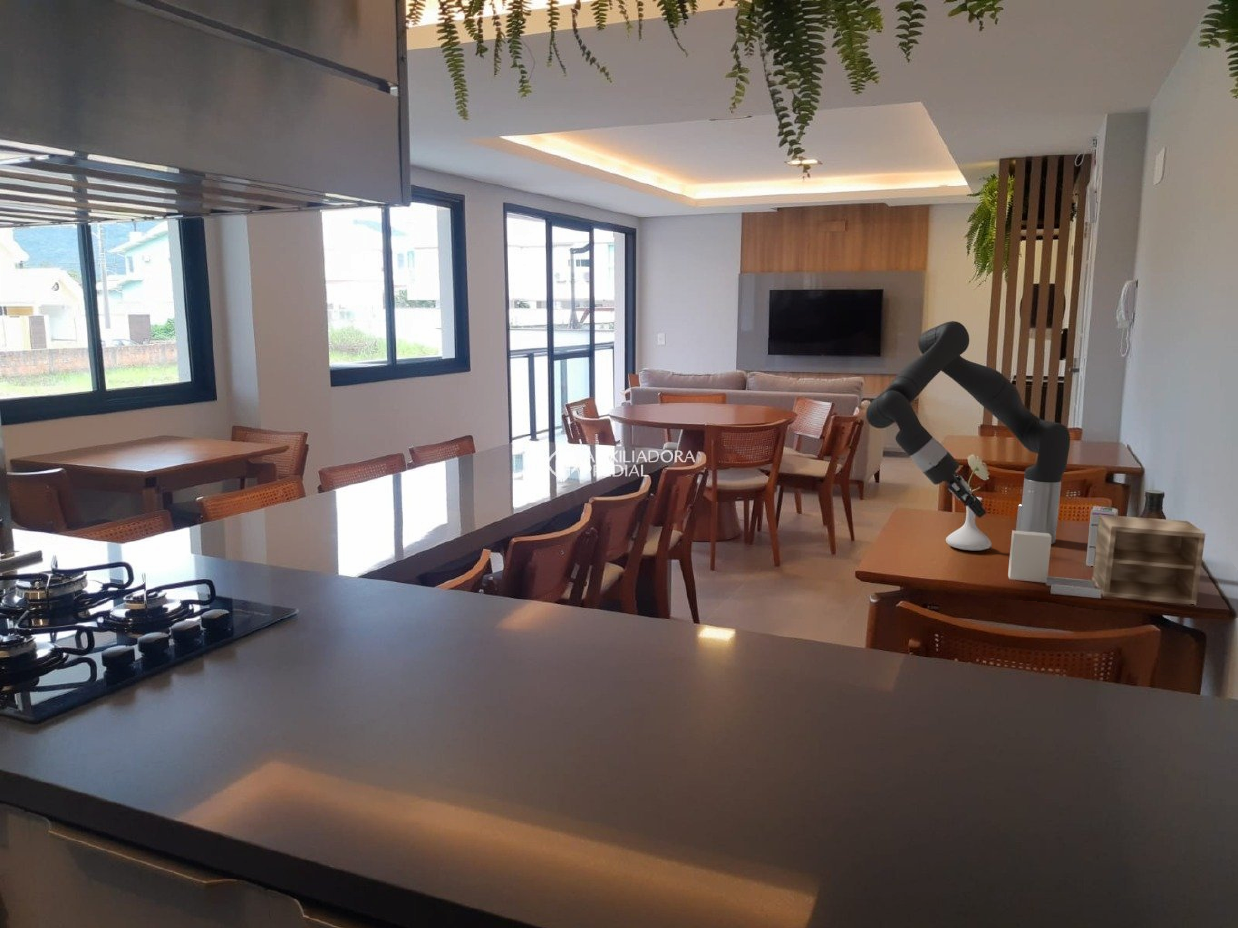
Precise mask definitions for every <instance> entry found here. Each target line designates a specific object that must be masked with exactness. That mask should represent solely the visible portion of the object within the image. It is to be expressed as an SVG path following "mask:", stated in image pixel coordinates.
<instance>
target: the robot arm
mask: <svg viewBox="0 0 1238 928" xmlns="http://www.w3.org/2000/svg"><path fill="white" fill-rule="evenodd" d="M917 342H918V348H919V351H920V353H921V355H920V356H918V357H917V358H915V359H914V360H912V362H910V363H908V365H906V366H905V367H904V368H903V369H902V370H901V371H900V372H899V373H898V374H897V375H896V376H895V377H894V379H893V380H892V381H891V383H890V384H889V385H888V386H887V387H886V388H885V389H884V390H883V391H882V392H881V393H880V394H878V395H877V396H876V397H875V398H874V399H873V400H872V401H871V402H870V404H868V406H867V409H866V412H865V417H866V421H867V422H868V424H869V425H870V426H871V427H873V428H876V429H886V428H888V427H890V426H891V425H893V424H894V423H896V426H897V427H898V429H899V431H898V432H897V433H896V435H895V441H896V443H897V444H898V446H899V447H900V448H901V449H902V450H903V451H904V452H905V453H906V455H908V456H909V458H910V459H911V460H912V462H913V463H914V465H915V466H917V468H918V469H919V470H920V471H921V472H922V473H923V475H924V476H925V477H926V478H928V480H930V482H931V483H932V484H933V485H934V486H935V485H936V486H937V485H940V484H941V483H943V482H946V483H947V484H946V488H947V490H949V492H950V493H952V494H953V495H954V496H955V497H956V499H957V500H958V501H961V503H963V506H965V507H966V506H967V507H969V508H970V509H971V510H972V511H973V512H974V513H975V514H976V515H975V516H976V517H977V518H979V519H980V518H983V516H984V515H986V514H987V511H986V510H985V508H984V507H983V502H982V501H980V500H979V499H978V498H977V497H978V496H976V495H975V494H974V493H973V492H972V490H973V489H971V487H970V488H969V486H970V485H969V486H968V482H967V481H965V479H964V478H963V476H961V475H960V474H959V475H958V474H957V472H956V471H957V470H958V469H960V468H959V467H960V463H959V461H957V460H956V458H954V456H953V455H952V454H951V453H950V452H949V451H948V450H947V449H946V448H945V447H944V446H943V444H942V443H940V441H938V440H937V439H936V438H935V437H934V436H933V435H931V434H930V432H929V431H928V430H927V429H926V428H925V427H924V426H923V425H922V424H921V422H920V419H919V418H918V416H917V414H916V412H915V410H914V409H913V406H912V405H911V404H912V403H913V402H914V401H915V400H916V398H917V397H918V396H920V394H921V393H922V392H923V390H924V389H925V388H926V387H927V386H928V385H929V384H930V382H932V380H933V379H934V378H935V377H936V376H938V375H939V373H941V372H942V373H943V374H945V375H947V376H948V377H949V378H950V379H952V381H954V382H956V384H958V385H959V386H960V387H962V388H963V390H965V391H966V392H967V393H968V394H969V395H971V397H972V398H974V399H975V400H976V401H977V402H978V403H979V404H980V405H981V406H982V407H983V408H984V409H985V410H987V411H988V412H989V413H990V414H992V415H993V416H994V417H995V418H996V419H997V420H998V421H1000V422H1001V423H1002V424H1003V425H1005V427H1007V428H1008V430H1010V432H1012V434H1013V435H1014V436H1015V438H1016V439H1017V440H1018V441H1019V442H1020V444H1022V446H1023V447H1024V448H1025V449H1027V450H1028V451H1030V452H1032V453H1034V454H1037V458H1036V462H1035V464H1034V465H1031V466H1027V467H1026V468H1025V469H1024V475H1023V476H1024V477H1023V479H1024V480H1023V489H1022V497H1021V498H1022V500H1021V503H1019V504H1018V507H1017V518H1016V526H1015V531H1025V532H1037V533H1049V534H1050V535H1051V537H1052V539H1051V545H1052V544H1055V543H1056V537H1057V527H1058V518H1059V509H1060V508H1059V507H1060V498H1061V489H1062V481H1063V480H1062V478H1063V476H1064V473H1065V471H1066V469H1067V463H1068V457H1069V451H1070V445H1071V434H1070V431H1069V429H1068V428H1067V426H1066V425H1065V424H1063V423H1059V422H1054V421H1050V420H1045V419H1042V418H1040V417H1039V416H1036V415H1035V414H1034V413H1032V412H1031V411H1030V409H1028V408H1027V407H1026V406H1025V405H1024V402H1023V401H1022V398H1021V394H1020V392H1019V390H1018V389H1017V387H1016V386H1015V384H1013V383H1012V382H1011V381H1010V380H1009V378H1007V377H1006V376H1005V375H1004V374H1003V373H1002V372H1000V371H999V370H997V369H994V368H992V367H989V366H985V365H982V364H980V363H977V362H973V361H970V360H969V359H968V360H967V359H966V358H964V357H963V356H961V355H963V353H964V352H966V350H968V347H969V344H970V335H969V331H968V330H967V328H966V327H965V325H963V323H961V322H959V321H954V320H951V321H947V322H943V323H941V324H939V325H938V326H937V325H936V326H935V327H933V328H930V329H927V330H926V331H924V332H922V333H921V335H920V336H919V338H918V340H917ZM964 499H965V500H964Z"/></svg>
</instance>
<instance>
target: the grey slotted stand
mask: <svg viewBox="0 0 1238 928" xmlns="http://www.w3.org/2000/svg"><path fill="white" fill-rule="evenodd" d="M1045 585H1046V586H1047V587H1050V594H1051V595H1052V594H1053V595H1060V596H1061V595H1062V596H1072V597H1082V598H1093V599H1102V593H1101V591H1102V590H1101V589H1099V588H1097V587H1096V586H1095V581H1093V580H1092V579H1082V578H1069V577H1061V576H1060V577H1059V576H1050V575H1048V576H1047V578H1046V583H1045Z"/></svg>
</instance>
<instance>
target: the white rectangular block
mask: <svg viewBox="0 0 1238 928" xmlns="http://www.w3.org/2000/svg"><path fill="white" fill-rule="evenodd" d="M1011 531H1012V532H1011V539H1010V541H1011V542H1010V551H1009V559H1008V561H1009V562H1008V573H1007V576H1008V579H1009V580H1015V581H1025V582H1033V583H1034V582H1037V583H1045V584H1046V578H1047V576H1049V567H1050V566H1049V565H1050V556H1051V549H1052V548H1051V546H1052V544H1051V539H1052V537H1051V535H1050V534H1049V533H1037V532H1025V531H1016V530H1011Z"/></svg>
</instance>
